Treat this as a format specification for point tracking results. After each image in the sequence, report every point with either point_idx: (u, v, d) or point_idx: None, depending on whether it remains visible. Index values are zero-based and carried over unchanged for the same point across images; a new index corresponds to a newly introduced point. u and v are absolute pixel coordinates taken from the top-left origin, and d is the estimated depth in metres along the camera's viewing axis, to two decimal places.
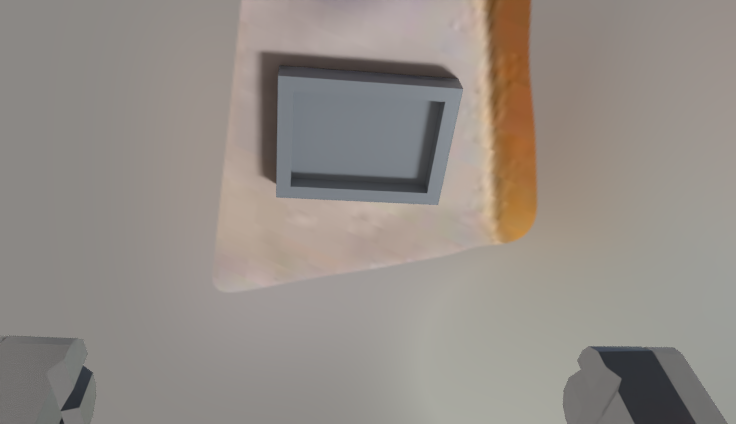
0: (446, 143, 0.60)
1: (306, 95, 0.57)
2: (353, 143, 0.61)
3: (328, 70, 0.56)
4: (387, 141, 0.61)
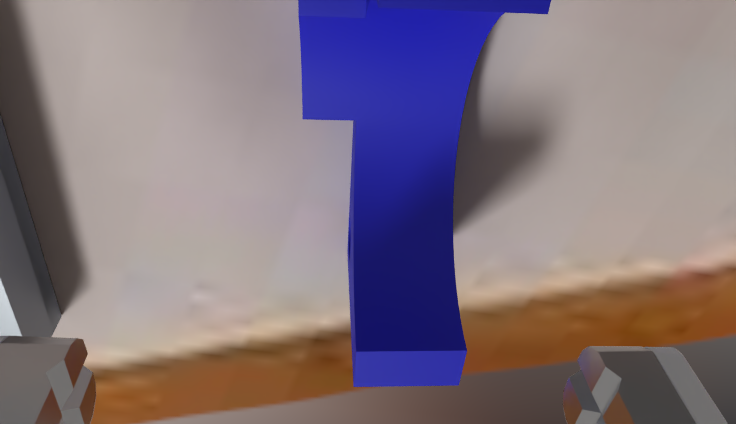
0: None
1: None
2: None
3: None
4: None
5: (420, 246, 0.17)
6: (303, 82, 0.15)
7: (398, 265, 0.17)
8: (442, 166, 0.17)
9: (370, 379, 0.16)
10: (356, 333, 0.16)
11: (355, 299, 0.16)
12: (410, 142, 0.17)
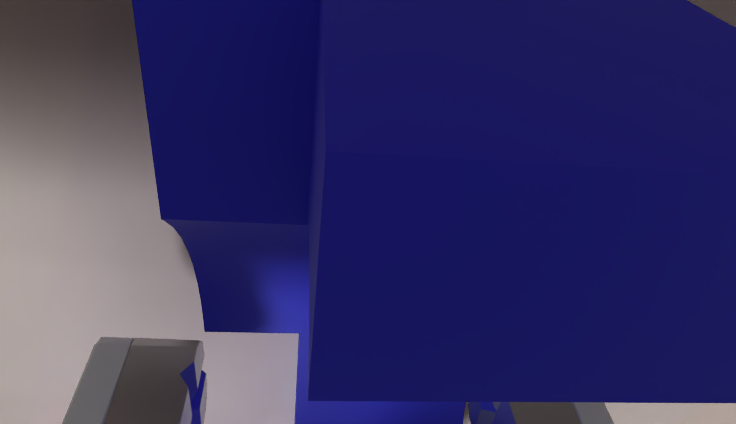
0: None
1: None
2: None
3: None
4: None
5: None
6: (201, 284, 0.08)
7: None
8: None
9: None
10: None
11: None
12: None
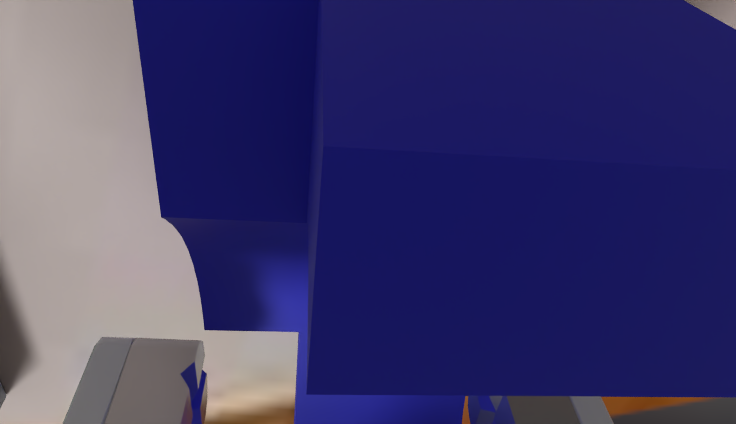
0: None
1: None
2: None
3: None
4: None
5: None
6: (200, 282, 0.08)
7: None
8: (444, 396, 0.10)
9: None
10: None
11: None
12: None
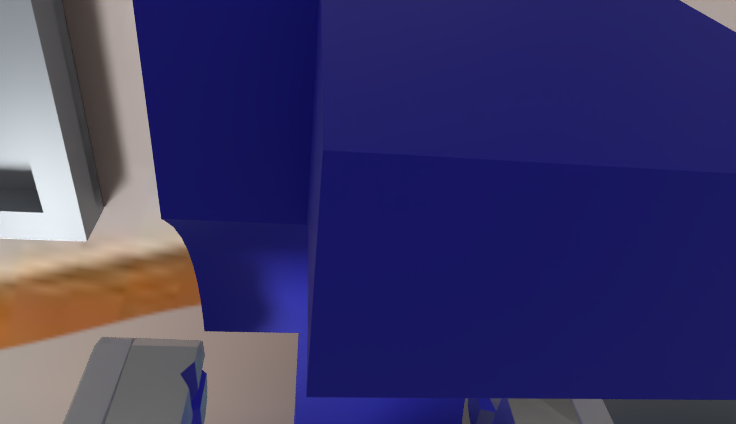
0: None
1: None
2: None
3: None
4: None
5: None
6: (200, 283, 0.08)
7: None
8: None
9: None
10: None
11: None
12: None
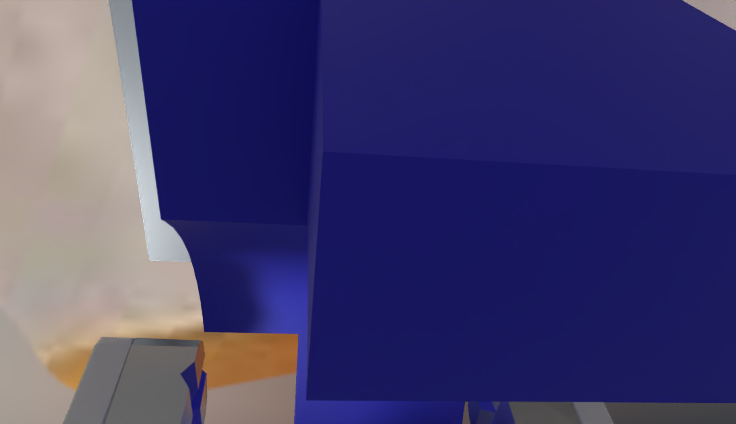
0: None
1: None
2: None
3: None
4: None
5: None
6: (200, 284, 0.08)
7: None
8: None
9: None
10: None
11: None
12: None
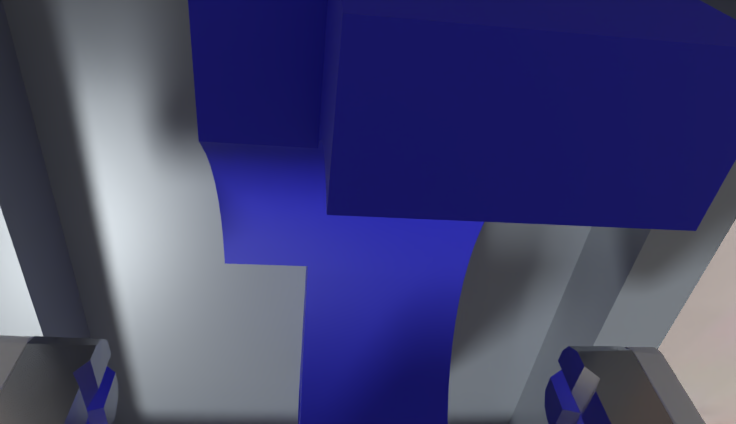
0: None
1: None
2: None
3: None
4: None
5: None
6: (223, 216, 0.10)
7: None
8: (436, 329, 0.11)
9: None
10: None
11: None
12: (389, 295, 0.11)
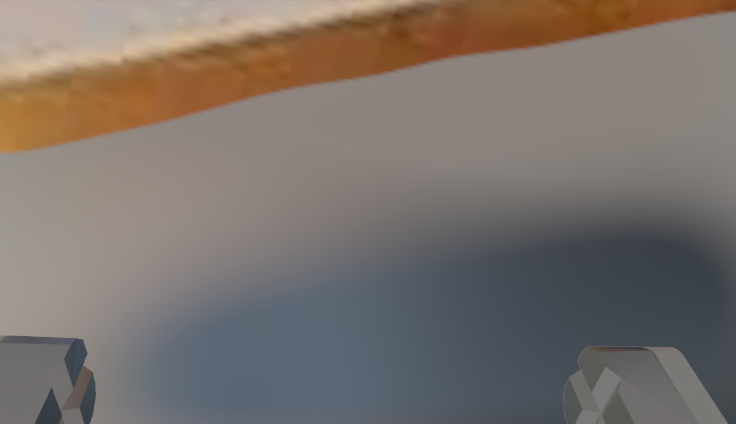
0: None
1: None
2: None
3: None
4: None
5: None
6: None
7: None
8: None
9: None
10: None
11: None
12: None
